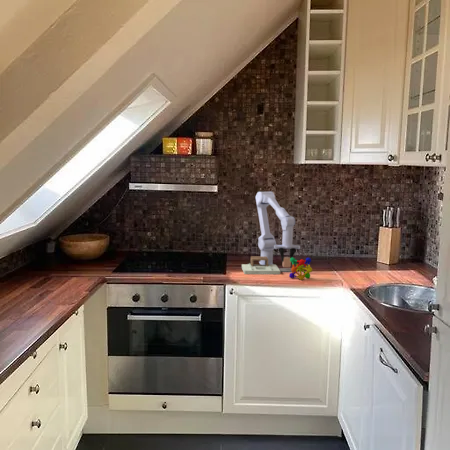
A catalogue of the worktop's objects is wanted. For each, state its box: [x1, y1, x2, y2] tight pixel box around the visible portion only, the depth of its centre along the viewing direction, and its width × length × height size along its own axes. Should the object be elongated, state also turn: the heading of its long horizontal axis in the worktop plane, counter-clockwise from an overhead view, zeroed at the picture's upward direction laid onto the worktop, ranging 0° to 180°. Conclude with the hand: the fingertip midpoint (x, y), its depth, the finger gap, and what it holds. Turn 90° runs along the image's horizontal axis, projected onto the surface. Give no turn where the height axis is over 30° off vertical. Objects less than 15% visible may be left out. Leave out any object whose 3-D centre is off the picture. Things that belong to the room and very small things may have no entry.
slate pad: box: [278, 267, 292, 273], centre depth 275 cm, size 7×7×1 cm
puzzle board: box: [241, 262, 281, 275], centre depth 273 cm, size 16×20×3 cm
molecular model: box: [289, 256, 313, 281], centre depth 256 cm, size 12×7×12 cm, turn 92°
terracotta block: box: [281, 256, 292, 268], centre depth 274 cm, size 4×4×5 cm
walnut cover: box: [249, 255, 268, 266], centre depth 278 cm, size 7×9×4 cm
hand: (286, 261), depth 274 cm, fingers closed on terracotta block, 4 cm apart
